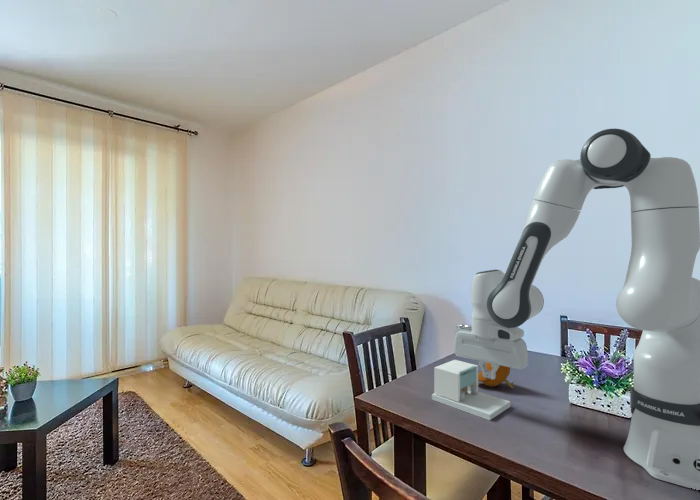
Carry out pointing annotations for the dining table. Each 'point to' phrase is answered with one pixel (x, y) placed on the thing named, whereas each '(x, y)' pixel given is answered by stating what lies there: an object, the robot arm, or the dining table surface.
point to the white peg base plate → (476, 403)
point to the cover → (454, 378)
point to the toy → (500, 376)
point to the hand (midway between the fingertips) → (489, 377)
